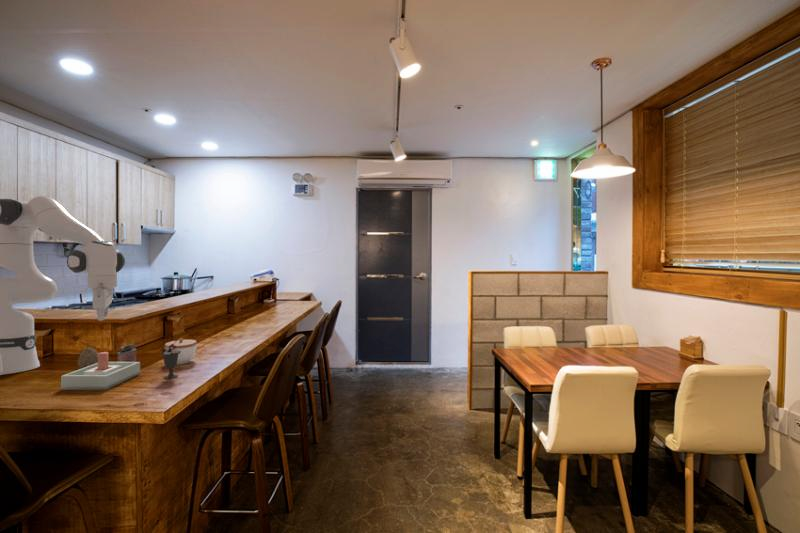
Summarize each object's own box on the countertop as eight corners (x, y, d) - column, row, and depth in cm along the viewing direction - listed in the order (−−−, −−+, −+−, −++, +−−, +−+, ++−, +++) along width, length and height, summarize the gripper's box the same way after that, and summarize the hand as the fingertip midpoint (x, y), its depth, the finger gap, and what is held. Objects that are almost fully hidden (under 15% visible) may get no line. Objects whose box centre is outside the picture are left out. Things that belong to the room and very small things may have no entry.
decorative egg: (102, 370, 154) (102, 346, 154) (81, 374, 149) (80, 350, 148) (96, 367, 158) (96, 344, 158) (75, 371, 153) (75, 347, 152)
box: (61, 389, 132) (61, 375, 132) (100, 373, 150) (100, 361, 150) (106, 389, 132) (106, 376, 132) (140, 373, 150) (140, 361, 150)
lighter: (121, 371, 154) (121, 347, 153) (115, 370, 154) (114, 347, 154) (138, 365, 161) (138, 343, 161) (132, 364, 162) (132, 342, 162)
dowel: (96, 380, 139) (96, 354, 138) (99, 377, 142) (99, 352, 141) (107, 379, 140) (106, 353, 140) (109, 376, 143) (109, 351, 143)
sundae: (184, 376, 148) (184, 339, 147) (166, 381, 142) (166, 343, 142) (175, 373, 151) (175, 337, 151) (157, 378, 145) (157, 341, 145)
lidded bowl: (174, 358, 173) (174, 335, 173) (201, 358, 174) (201, 335, 174) (158, 366, 161) (158, 341, 160) (188, 366, 161) (188, 341, 161)
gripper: (109, 284, 133) (109, 322, 133) (116, 280, 150) (116, 313, 150) (87, 285, 129) (87, 323, 130) (96, 281, 147) (96, 315, 147)
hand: (102, 318), depth 140 cm, fingers open, 8 cm apart
